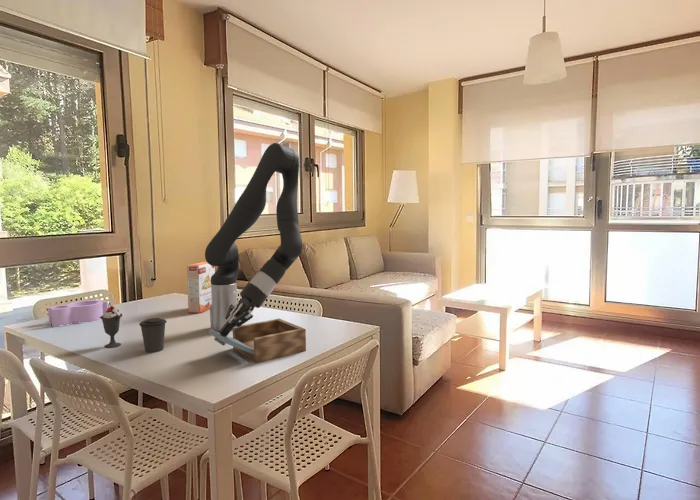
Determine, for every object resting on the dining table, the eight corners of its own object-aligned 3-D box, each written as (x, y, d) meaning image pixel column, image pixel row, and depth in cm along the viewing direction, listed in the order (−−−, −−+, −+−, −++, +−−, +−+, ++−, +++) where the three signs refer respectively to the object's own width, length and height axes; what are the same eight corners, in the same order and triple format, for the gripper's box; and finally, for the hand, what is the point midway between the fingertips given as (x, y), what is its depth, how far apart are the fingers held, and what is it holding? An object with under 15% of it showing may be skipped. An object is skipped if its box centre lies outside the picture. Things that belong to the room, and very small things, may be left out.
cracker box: (200, 313, 188) (198, 265, 186) (187, 313, 190) (185, 265, 187) (216, 306, 202) (215, 261, 200) (204, 305, 203) (203, 261, 201)
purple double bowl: (56, 329, 167) (55, 311, 166) (45, 323, 175) (44, 306, 174) (111, 318, 182) (110, 302, 181) (99, 314, 190) (98, 298, 189)
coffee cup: (140, 355, 136) (138, 323, 135) (140, 347, 143) (139, 317, 142) (168, 351, 139) (166, 321, 138) (167, 344, 146) (166, 315, 145)
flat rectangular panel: (236, 339, 140) (209, 328, 135) (254, 350, 130) (226, 338, 124) (233, 346, 140) (205, 335, 134) (251, 357, 129) (222, 346, 124)
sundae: (108, 350, 141) (105, 304, 139) (97, 346, 144) (94, 301, 143) (128, 344, 146) (125, 300, 145) (116, 341, 150) (114, 298, 149)
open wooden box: (279, 338, 152) (279, 318, 152) (305, 350, 139) (305, 329, 138) (233, 348, 142) (232, 327, 141) (256, 362, 129) (255, 339, 128)
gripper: (241, 279, 140) (204, 323, 134) (260, 284, 130) (221, 332, 123) (257, 293, 144) (222, 336, 137) (276, 299, 133) (239, 347, 127)
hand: (222, 334), depth 130 cm, fingers closed
